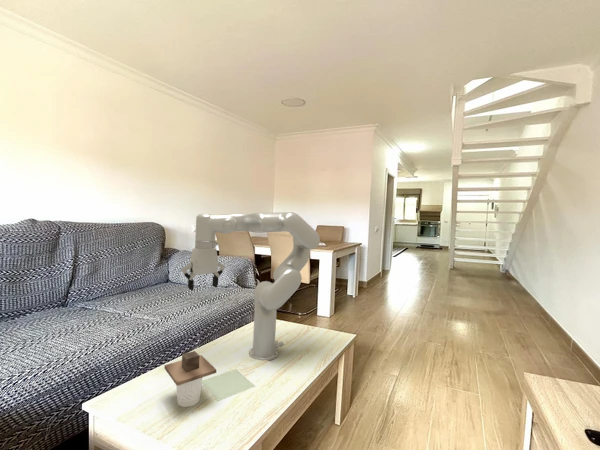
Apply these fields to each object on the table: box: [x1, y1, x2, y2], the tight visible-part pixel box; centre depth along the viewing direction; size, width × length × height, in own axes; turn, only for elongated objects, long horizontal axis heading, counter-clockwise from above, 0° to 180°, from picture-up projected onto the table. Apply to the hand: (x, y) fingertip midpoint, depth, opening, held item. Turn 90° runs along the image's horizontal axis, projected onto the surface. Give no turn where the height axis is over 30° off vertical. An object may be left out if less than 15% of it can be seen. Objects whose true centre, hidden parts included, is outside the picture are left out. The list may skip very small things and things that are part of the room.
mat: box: [202, 368, 256, 402], centre depth 101 cm, size 14×14×1 cm
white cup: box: [176, 377, 203, 408], centre depth 91 cm, size 8×8×10 cm
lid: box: [164, 350, 217, 387], centre depth 91 cm, size 12×12×5 cm
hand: (203, 288), depth 114 cm, fingers open, 9 cm apart
